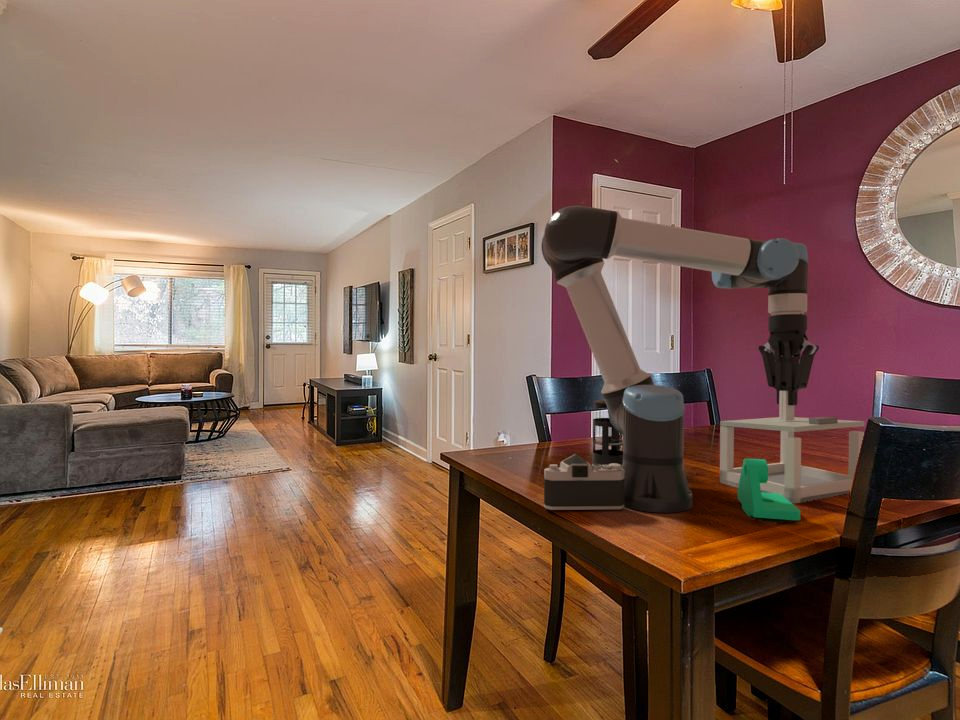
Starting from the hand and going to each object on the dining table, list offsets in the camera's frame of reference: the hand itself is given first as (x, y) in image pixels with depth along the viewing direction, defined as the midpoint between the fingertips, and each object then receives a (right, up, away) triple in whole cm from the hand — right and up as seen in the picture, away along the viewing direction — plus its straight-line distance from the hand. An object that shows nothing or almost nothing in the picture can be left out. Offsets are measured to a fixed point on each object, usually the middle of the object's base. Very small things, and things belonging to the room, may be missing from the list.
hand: (786, 419), depth 116 cm
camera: (-48, -15, -13) cm, 53 cm away
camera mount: (-15, -16, -19) cm, 29 cm away
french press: (-34, -15, +22) cm, 43 cm away
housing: (0, -15, -1) cm, 15 cm away
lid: (0, -1, -1) cm, 2 cm away
